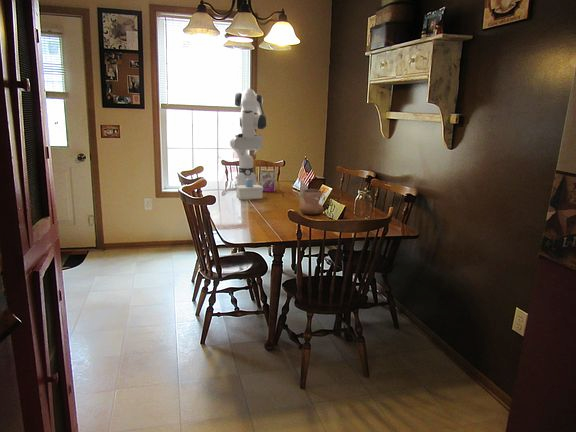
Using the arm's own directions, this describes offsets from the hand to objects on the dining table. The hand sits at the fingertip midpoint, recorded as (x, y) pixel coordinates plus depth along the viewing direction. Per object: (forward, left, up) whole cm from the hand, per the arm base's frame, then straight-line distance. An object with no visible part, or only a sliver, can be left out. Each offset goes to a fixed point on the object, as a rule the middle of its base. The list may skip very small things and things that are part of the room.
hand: (248, 154), depth 304 cm
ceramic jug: (+55, +27, -30) cm, 68 cm away
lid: (+3, 0, -24) cm, 24 cm away
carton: (+2, 0, -30) cm, 30 cm away
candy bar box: (-17, +18, -30) cm, 39 cm away
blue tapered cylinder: (+2, 0, -22) cm, 22 cm away
